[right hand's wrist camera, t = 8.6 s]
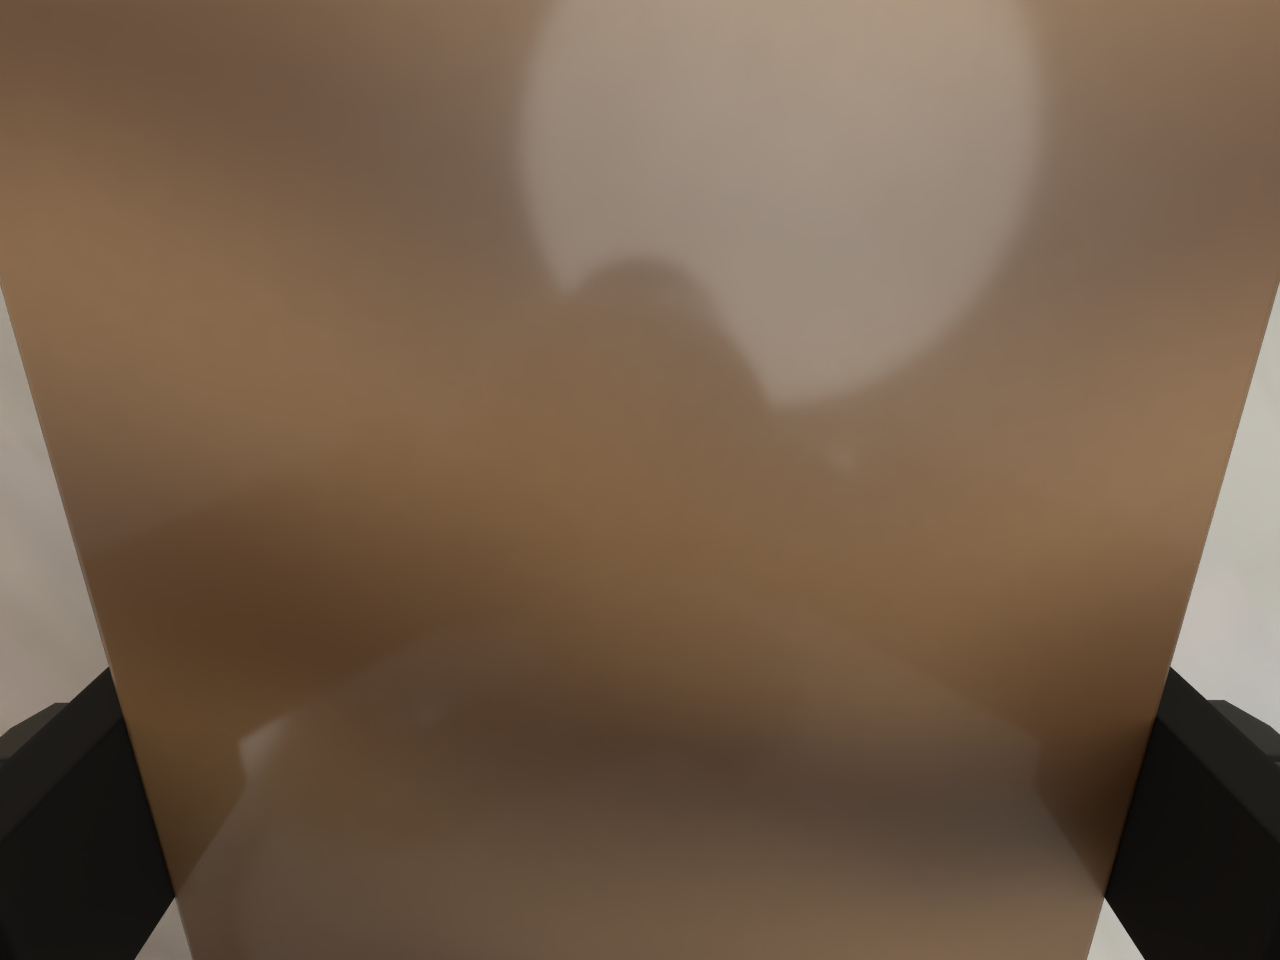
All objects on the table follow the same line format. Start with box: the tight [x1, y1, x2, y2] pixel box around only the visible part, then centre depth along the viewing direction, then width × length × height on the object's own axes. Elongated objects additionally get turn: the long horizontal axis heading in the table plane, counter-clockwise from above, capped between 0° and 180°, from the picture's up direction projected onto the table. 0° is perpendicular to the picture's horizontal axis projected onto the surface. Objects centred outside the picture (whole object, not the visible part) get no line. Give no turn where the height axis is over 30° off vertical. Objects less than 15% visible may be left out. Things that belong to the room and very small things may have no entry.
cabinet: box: [0, 0, 1280, 960], centre depth 11 cm, size 22×12×10 cm, turn 0°
